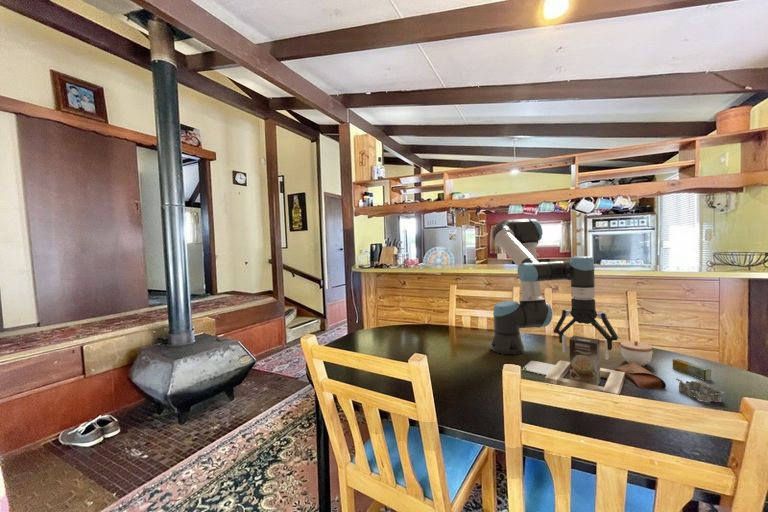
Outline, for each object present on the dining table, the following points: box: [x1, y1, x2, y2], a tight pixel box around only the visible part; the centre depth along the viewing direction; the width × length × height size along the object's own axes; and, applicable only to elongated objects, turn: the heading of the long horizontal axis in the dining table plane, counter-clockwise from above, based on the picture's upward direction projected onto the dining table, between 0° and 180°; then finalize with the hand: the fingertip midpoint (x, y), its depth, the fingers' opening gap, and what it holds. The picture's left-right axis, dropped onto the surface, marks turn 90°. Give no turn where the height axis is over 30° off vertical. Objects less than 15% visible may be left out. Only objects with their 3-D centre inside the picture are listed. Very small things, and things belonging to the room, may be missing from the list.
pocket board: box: [544, 360, 626, 395], centre depth 120 cm, size 22×21×2 cm
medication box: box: [672, 358, 712, 381], centre depth 122 cm, size 12×3×4 cm, turn 8°
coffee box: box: [569, 335, 601, 386], centre depth 120 cm, size 9×6×16 cm
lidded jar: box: [619, 340, 654, 367], centre depth 134 cm, size 11×11×9 cm
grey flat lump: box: [675, 378, 725, 403], centre depth 106 cm, size 11×8×4 cm
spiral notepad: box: [521, 360, 556, 376], centre depth 134 cm, size 10×12×1 cm
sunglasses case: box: [613, 361, 667, 390], centre depth 121 cm, size 18×7×7 cm, turn 172°
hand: (584, 355), depth 119 cm, fingers open, 13 cm apart
